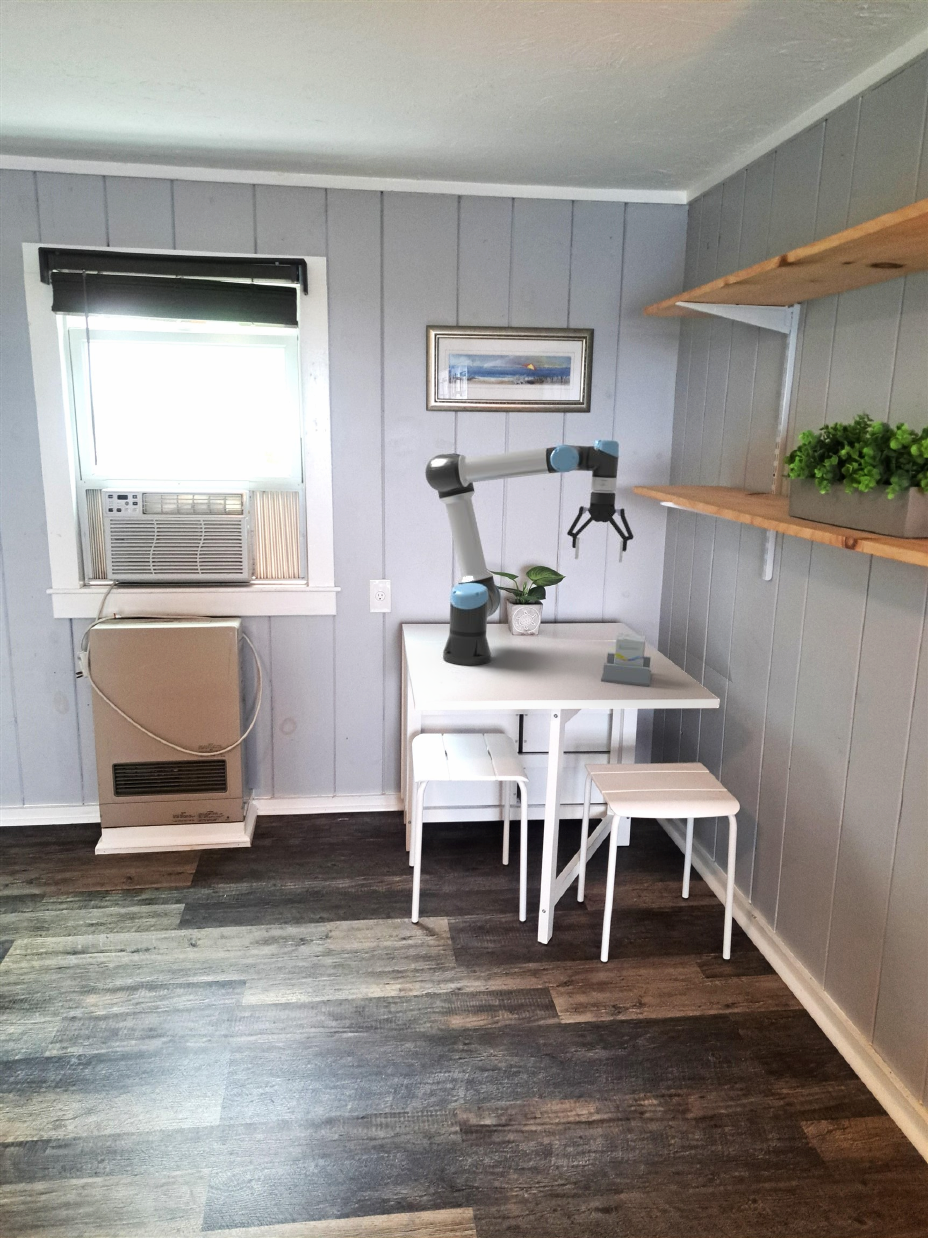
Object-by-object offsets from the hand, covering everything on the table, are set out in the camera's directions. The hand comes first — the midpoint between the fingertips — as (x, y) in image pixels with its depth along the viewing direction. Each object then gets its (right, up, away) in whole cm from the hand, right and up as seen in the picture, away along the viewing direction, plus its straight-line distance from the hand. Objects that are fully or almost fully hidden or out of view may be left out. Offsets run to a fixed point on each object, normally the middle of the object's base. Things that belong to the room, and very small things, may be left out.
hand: (598, 560), depth 262 cm
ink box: (+7, -35, -9) cm, 37 cm away
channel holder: (+7, -36, -9) cm, 38 cm away
